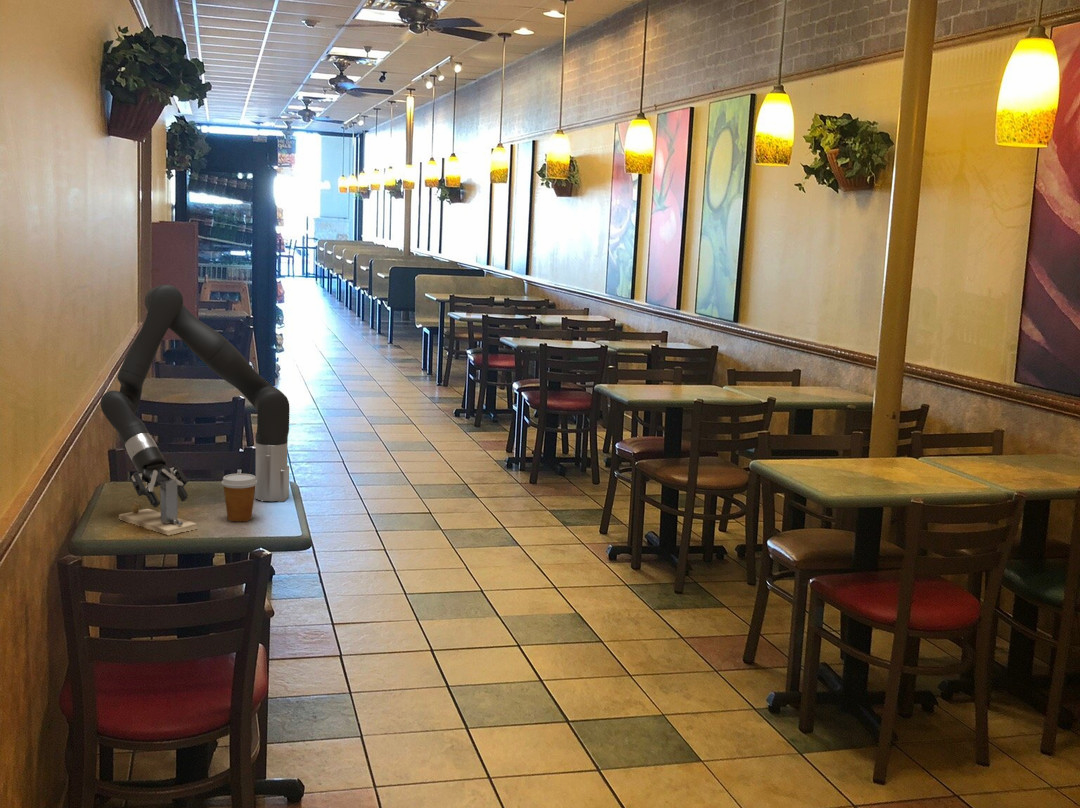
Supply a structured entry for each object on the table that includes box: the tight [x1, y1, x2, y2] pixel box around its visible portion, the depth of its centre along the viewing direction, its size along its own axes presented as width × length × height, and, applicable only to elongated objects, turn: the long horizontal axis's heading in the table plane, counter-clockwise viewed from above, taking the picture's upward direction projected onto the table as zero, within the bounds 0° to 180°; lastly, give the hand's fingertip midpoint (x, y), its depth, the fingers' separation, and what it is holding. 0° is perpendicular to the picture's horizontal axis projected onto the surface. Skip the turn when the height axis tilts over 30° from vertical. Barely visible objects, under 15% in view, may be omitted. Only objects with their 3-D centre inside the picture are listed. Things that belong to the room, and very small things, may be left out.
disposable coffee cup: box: [221, 473, 257, 523], centre depth 295 cm, size 10×10×12 cm
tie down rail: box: [118, 502, 199, 535], centre depth 287 cm, size 22×9×4 cm, turn 55°
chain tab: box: [159, 479, 183, 526], centre depth 283 cm, size 9×4×11 cm, turn 55°
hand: (171, 502), depth 282 cm, fingers open, 8 cm apart
